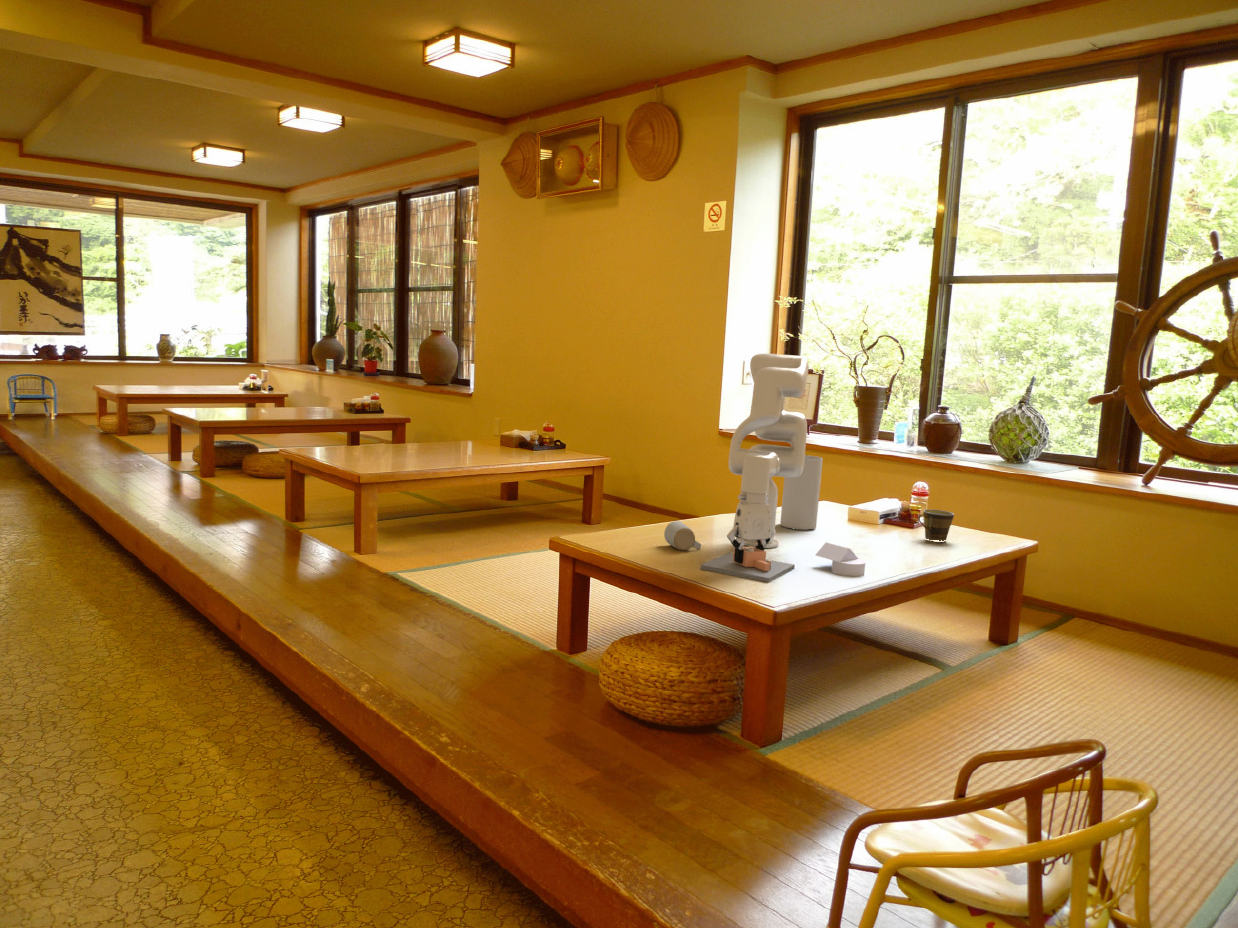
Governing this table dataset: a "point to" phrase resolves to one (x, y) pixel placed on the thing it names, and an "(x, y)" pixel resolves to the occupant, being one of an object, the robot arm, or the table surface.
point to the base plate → (746, 568)
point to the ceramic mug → (680, 536)
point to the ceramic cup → (936, 524)
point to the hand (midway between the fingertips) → (748, 561)
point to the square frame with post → (754, 559)
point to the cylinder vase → (802, 496)
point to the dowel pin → (770, 563)
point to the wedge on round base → (842, 560)
